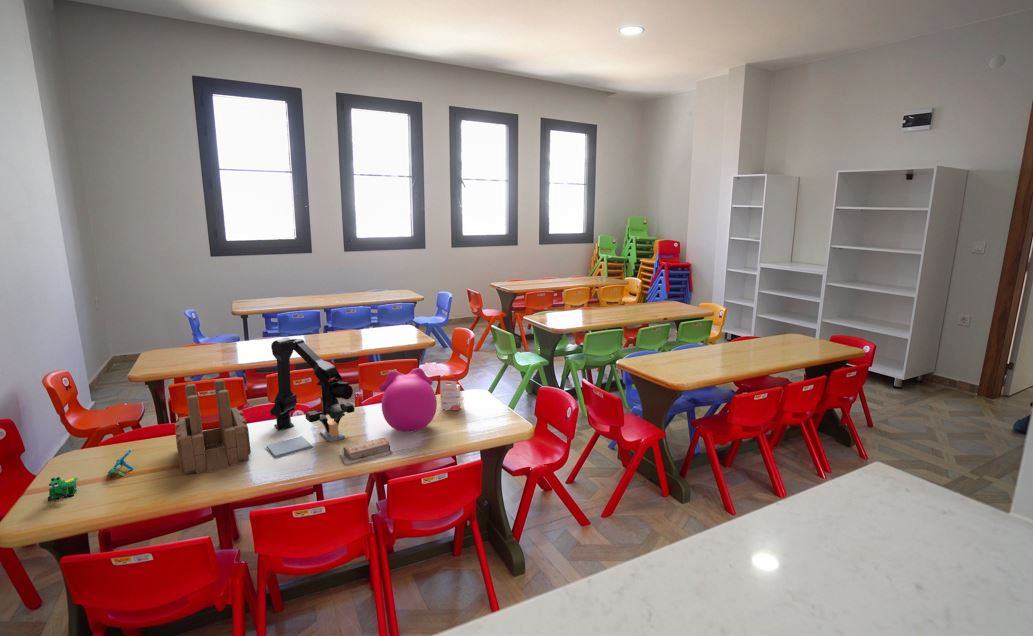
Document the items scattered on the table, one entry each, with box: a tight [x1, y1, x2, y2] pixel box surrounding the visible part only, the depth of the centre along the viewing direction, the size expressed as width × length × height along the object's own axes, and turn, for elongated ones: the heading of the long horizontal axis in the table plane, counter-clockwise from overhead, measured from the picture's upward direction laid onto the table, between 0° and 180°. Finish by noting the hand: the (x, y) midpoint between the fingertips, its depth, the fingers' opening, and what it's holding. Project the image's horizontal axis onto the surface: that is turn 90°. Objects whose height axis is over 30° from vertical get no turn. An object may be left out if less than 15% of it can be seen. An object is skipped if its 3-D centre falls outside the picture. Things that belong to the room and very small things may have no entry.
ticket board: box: [265, 435, 313, 459], centre depth 206 cm, size 12×14×1 cm
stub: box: [319, 418, 346, 443], centre depth 217 cm, size 12×6×6 cm, turn 40°
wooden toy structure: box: [174, 378, 252, 476], centre depth 198 cm, size 23×30×27 cm
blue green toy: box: [107, 448, 134, 477], centre depth 188 cm, size 11×6×10 cm
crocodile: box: [47, 476, 78, 502], centre depth 173 cm, size 20×6×9 cm, turn 28°
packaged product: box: [339, 437, 393, 466], centre depth 200 cm, size 18×5×10 cm
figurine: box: [378, 367, 438, 433], centre depth 221 cm, size 23×24×25 cm
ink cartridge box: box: [439, 380, 462, 411], centre depth 245 cm, size 9×5×15 cm, turn 80°
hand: (331, 431), depth 217 cm, fingers open, 3 cm apart
